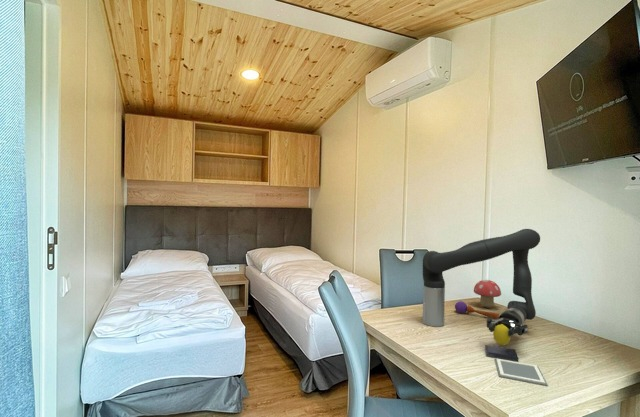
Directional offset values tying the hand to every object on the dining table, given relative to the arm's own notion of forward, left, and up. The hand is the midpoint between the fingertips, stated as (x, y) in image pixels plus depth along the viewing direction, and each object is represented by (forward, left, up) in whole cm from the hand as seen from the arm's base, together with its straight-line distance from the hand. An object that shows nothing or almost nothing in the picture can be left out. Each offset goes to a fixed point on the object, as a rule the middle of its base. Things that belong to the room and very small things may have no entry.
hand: (500, 331), depth 118 cm
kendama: (-6, +47, -10) cm, 49 cm away
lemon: (+1, +2, -6) cm, 7 cm away
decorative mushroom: (+1, +65, -9) cm, 66 cm away
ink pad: (+1, +2, -9) cm, 10 cm away
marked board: (+5, -10, -9) cm, 14 cm away
